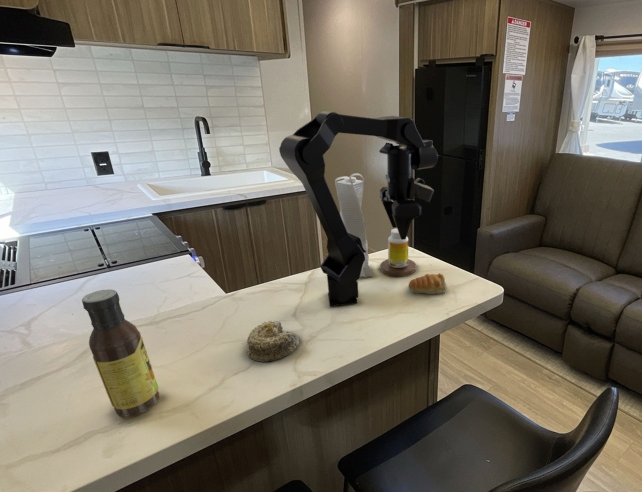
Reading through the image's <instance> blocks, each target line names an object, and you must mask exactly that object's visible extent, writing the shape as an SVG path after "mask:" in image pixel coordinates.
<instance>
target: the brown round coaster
mask: <svg viewBox="0 0 642 492" xmlns="http://www.w3.org/2000/svg"><path fill="white" fill-rule="evenodd" d="M416 270H417V265H416V262H415V261H414V260H412V259H410V258H408V265H407V266H406V267H403V268H393V267H391V266H390V265H389V263H388V259H384V260H383V261H381V263H380V272H382V274H384V275H386V276H390V277H406V276H411V275H413V274H414V273H415V272H416Z"/></svg>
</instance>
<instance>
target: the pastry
mask: <svg viewBox="0 0 642 492" xmlns="http://www.w3.org/2000/svg"><path fill="white" fill-rule="evenodd" d="M445 279H446V278H445V276H444V274H443V273H441V272H440V273H437V274H436V273H431V274H430V273H427V274H424V275H422V276H420V277H416V278H414V279H410V281H409V283H408V289H409V290H410V291H412V292H414V293H415V294H424V295H425V294H426V295H427V294H429V295H434V294H438V295H439V294H443V293H445V292H446V291H447V283H446V280H445Z"/></svg>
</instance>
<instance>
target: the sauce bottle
mask: <svg viewBox="0 0 642 492" xmlns="http://www.w3.org/2000/svg"><path fill="white" fill-rule="evenodd" d="M81 303H82V306H83V309H84V310H85V311H87V314H88V317H89V319H90V325H91V326H92V328H93V329H92V331H91V333H90V335H89V340H88V346H89V349H90V352H91V354H92V359H93V361H94V362H93V363H94V364H95V367H96V369H97V372H98V374H99V377H100V380H101V382H102V385H103V388H104V389H105V392H106V394H107V397H108V399H109V403H110V405H111V406H112V407H113V410H114V412H115V413H116V415H118V417H120V418H133V417H137V416H139V415H142V414H144V413H146V412H148V411H150V409H152V408H153V407H154V406H156V405H157V403H158V402H159V400H160V392H159V385H158V381H157V378H156V376H155V372H154V370H153V366H152V363H151V360H150V357H149V354H148V351H147V348H146V345H145V343H144V340H143V337H142V334H141V332H140V331H139V329H138V328H137V326H136V325H134V323H132V322H130V321H128V320H127V319H126V318H125V314H124V312H123V310H122V307H121V304H120V295H119V293H118V292H117V290H115V289H110V288H109V289H100V290H96V291H92V292H90V293H88V294H86V295H84V296H83V297H82V299H81Z"/></svg>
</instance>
